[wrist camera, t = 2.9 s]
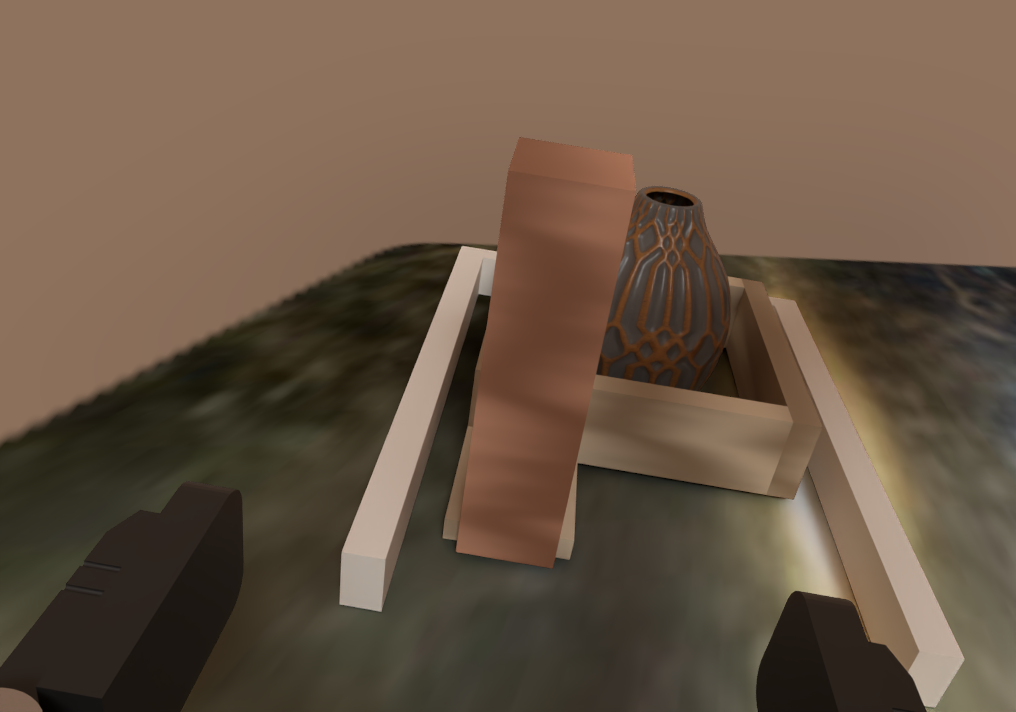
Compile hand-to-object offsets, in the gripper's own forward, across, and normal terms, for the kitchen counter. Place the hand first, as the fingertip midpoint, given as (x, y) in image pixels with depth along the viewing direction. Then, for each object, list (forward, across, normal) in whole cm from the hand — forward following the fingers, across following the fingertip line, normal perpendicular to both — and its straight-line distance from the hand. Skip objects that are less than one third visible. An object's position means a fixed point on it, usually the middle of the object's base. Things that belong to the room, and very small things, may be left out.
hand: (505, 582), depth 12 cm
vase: (+22, -4, +9) cm, 24 cm away
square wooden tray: (+19, -4, +9) cm, 21 cm away
